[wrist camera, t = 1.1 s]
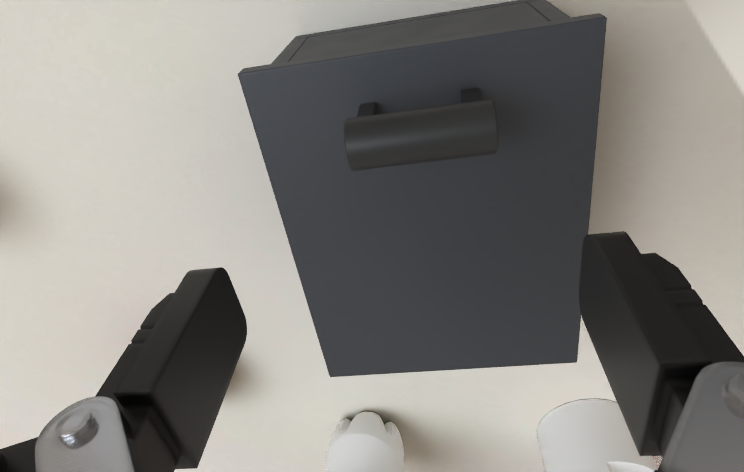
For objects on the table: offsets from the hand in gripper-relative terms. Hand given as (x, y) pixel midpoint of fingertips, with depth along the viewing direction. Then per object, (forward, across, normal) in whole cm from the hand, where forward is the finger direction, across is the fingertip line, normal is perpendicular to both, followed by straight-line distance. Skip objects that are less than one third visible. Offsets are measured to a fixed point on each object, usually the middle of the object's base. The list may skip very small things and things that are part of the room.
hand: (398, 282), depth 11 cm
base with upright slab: (+21, -13, +36) cm, 44 cm away
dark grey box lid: (+11, -1, +6) cm, 13 cm away
